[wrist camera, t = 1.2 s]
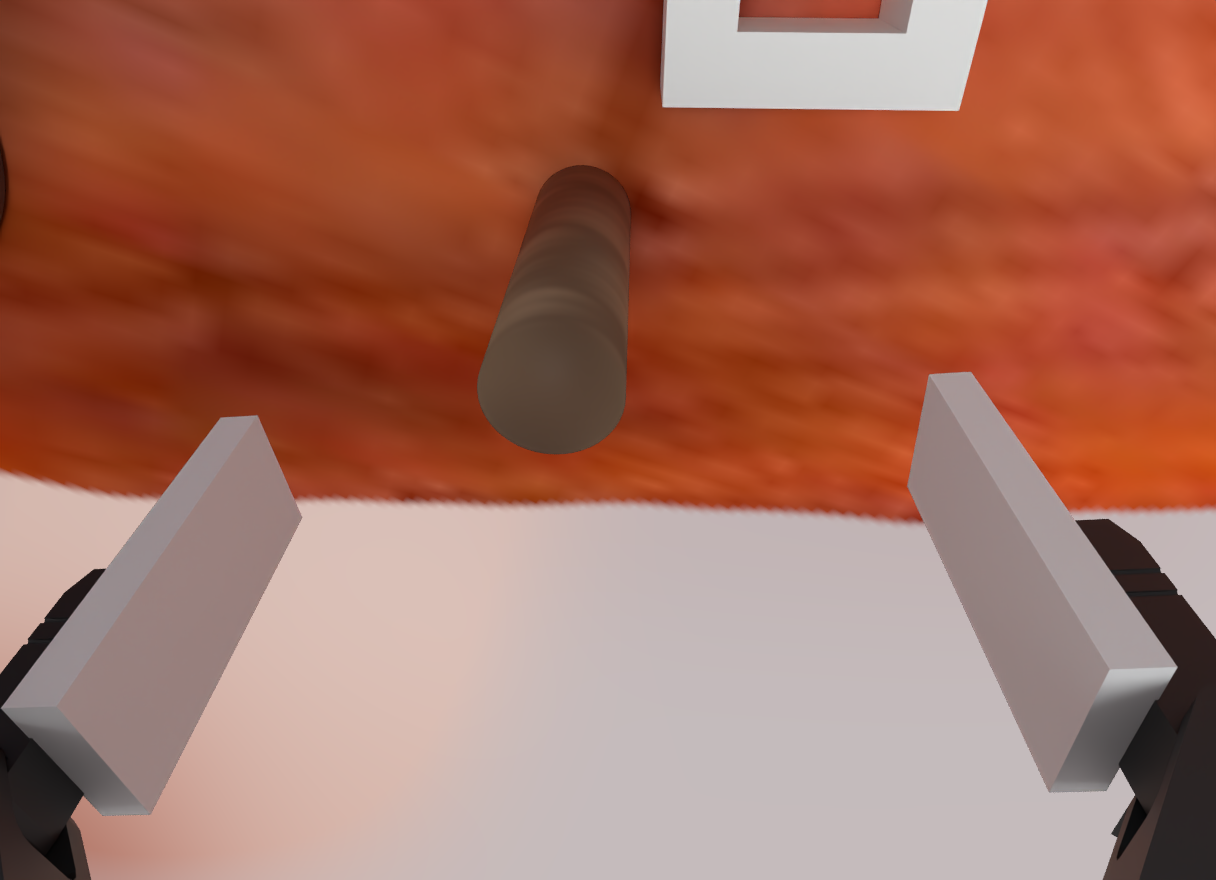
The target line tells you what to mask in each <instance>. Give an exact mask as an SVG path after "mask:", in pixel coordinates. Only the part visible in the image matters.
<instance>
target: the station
mask: <svg viewBox="0 0 1216 880" xmlns="http://www.w3.org/2000/svg"><path fill="white" fill-rule="evenodd" d="M987 1H988V0H882V2H881V7H880V13H879V18H775V17H739V8H740V0H664V6H663V30H662V54H661V79H660V88H661V98H662V107H685V108H768V109H851V110H934V111H959V108H960V105H961V101H962V97H963V93H964V89H965V85H966V82H967V78H968V74H969V70H970V66H971V62H972V59H973V55H974V51H975V47H976V43H977V39H978V36H979V32H980V28H981V24H982V20H983V16H984V13H985V9H986V5H987Z"/></svg>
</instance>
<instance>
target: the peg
mask: <svg viewBox="0 0 1216 880" xmlns="http://www.w3.org/2000/svg"><path fill="white" fill-rule="evenodd" d="M630 229H631V208H630V203H629V199H628V196H627V194H626V192H625V190H624V189H623V187H622V186H621V184H620V183H619V182H618V181H617V180H616V179H615V178H614V177H613V176H611V175H610V174H609V173H607V172H605V171H603V170H601V169H598V168H596V167H591V166H583V165H581V166H572V167H568V168H565V169H562V170H560V171H558V172H557V173H555V174H554V175H552V176H551V177H550V178H549V179H548V180H547V181H546V183H545V184H544V185H543V187H542V188H541V190H540V192H539V195H538V197H537V200H536V203H535V206H534V209H533V212H532V215H531V218H530V221H529V224H528V227H527V230H526V233H525V236H524V239H523V242H522V245H521V248H520V251H519V254H518V257H517V260H516V263H515V266H514V269H513V273H512V276H511V279H510V282H509V285H508V288H507V291H506V294H505V297H504V300H503V303H502V306H501V309H500V312H499V315H498V318H497V321H496V324H495V327H494V330H493V333H492V336H491V339H490V342H489V345H488V348H487V351H486V354H485V357H484V360H483V363H482V366H481V369H480V372H479V376H478V383H477V393H478V399H479V403H480V406H481V408H482V411H483V413H484V415H485V417H486V418H487V420H488V421H489V422H490V424H491V425H492V426H493V427H494V428H495V429H496V431H498V432H499V433H500V434H501V435H502V436H503V437H505V438H506V439H508V440H509V441H511V442H512V443H514V444H516V445H518V446H520V447H523V448H525V449H528V450H531V451H535V452H539V453H545V454H567V453H574V452H578V451H581V450H584V449H587V448H589V447H591V446H593V445H595V444H597V443H599V442H600V441H601V440H603V439H604V438H605V437H607V436H608V435H609V434H610V433H611V432H612V430H613V429H614V428H615V427H616V425H617V424H618V422H619V420H620V418H621V416H622V414H623V411H624V407H625V400H626V373H627V337H628V301H629V265H630Z"/></svg>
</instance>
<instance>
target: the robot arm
mask: <svg viewBox="0 0 1216 880" xmlns="http://www.w3.org/2000/svg"><path fill="white" fill-rule="evenodd" d="M4 202H5V177H4V168H3V162H2V157H1V152H0V222H1V218H2V214H3V208H4ZM907 487H908V489H909V491H910V493H911V495H912V497H913V499H914V502H915V504H916V506H917V508H918V510H919V512H920V515H921V517H922V519H923V521H924V523H925V525H926V528H927V530H928V532H929V534H930V536H931V538H932V540H933V543H934V545H935V547H936V549H937V551H938V553H939V555H940V558H941V560H942V562H943V564H944V566H945V569H946V571H947V573H948V575H949V577H950V579H951V581H952V584H953V586H954V588H955V590H956V592H957V595H958V597H959V599H960V601H961V603H962V605H963V608H964V610H965V612H966V614H967V616H968V618H969V620H970V623H971V625H972V627H973V629H974V631H975V633H976V635H977V638H978V639H979V642H980V644H981V646H982V648H983V651H984V653H985V655H986V657H987V659H988V661H989V663H990V666H991V668H992V670H993V672H994V674H995V677H996V679H997V681H998V683H999V685H1000V687H1001V690H1002V692H1003V694H1004V696H1005V698H1006V700H1007V703H1008V705H1009V707H1010V709H1011V711H1012V713H1013V715H1014V718H1015V720H1016V722H1017V724H1018V726H1019V728H1020V730H1021V733H1022V735H1023V737H1024V739H1025V741H1026V744H1027V746H1028V748H1029V750H1030V752H1031V754H1032V756H1033V759H1034V761H1035V763H1036V765H1037V767H1038V770H1039V772H1040V774H1041V776H1042V778H1043V780H1044V783H1045V784H1046V787H1047V789H1048V791H1049V792H1086V791H1106V790H1107V789H1108V787H1109V785H1110V784H1111V782H1112V780H1113V778H1114V777H1115V775H1116V773H1117V771H1118V770H1119V768H1121V770H1122V772H1123V773H1124V775H1125V777H1126V779H1127V781H1128V782H1129V784H1130V786H1131V788H1132V790H1133V791H1134V793H1135V796H1134V798H1133V800H1132V801H1131V803H1130V804H1129V806H1128V808H1127V809H1126V811H1125V813H1124V814H1123V816H1122V818H1121V819H1120V821H1119V822H1118V824H1117V825H1116V827H1115V828H1114V830H1113V832H1112V835H1114V836H1116V837H1118V838H1117V841H1116V843H1115V846H1114V849H1113V852H1112V855H1111V858H1110V861H1109V864H1108V866H1107V869H1106V872H1105V875H1104V878H1103V880H1216V639H1215V638H1214V636H1213V635H1212V634H1211V632H1210V631H1209V630H1208V629H1207V627H1206V626H1205V625H1204V623H1203V622H1202V621H1201V619H1200V618H1199V617H1198V616H1197V614H1196V613H1195V612H1194V611H1193V609H1192V608H1191V607H1190V605H1189V604H1188V603H1187V601H1186V600H1185V599H1184V598H1183V596H1182V595H1178V594H1177V589H1176V588H1175V586H1174V585H1173V583H1172V582H1171V581H1170V579H1169V578H1168V577H1167V576H1166V575H1165V573H1161V571H1160V567H1159V565H1158V564H1157V563H1156V562H1155V560H1154V559H1153V558H1152V556H1151V555H1150V554H1149V553H1148V551H1147V550H1146V549H1145V547H1144V546H1143V545H1142V543H1141V542H1140V541H1139V540H1137V539H1136V538H1134V537H1133V536H1132V535H1130V534H1129V533H1127V532H1126V531H1125V530H1123V529H1122V528H1120V527H1119V526H1118V525H1116V524H1115V523H1113V522H1112V521H1110V520H1109V519H1097V520H1078V521H1077V520H1076V521H1075V520H1074V518H1073V517H1072V516H1071V514H1070V513H1069V511H1068V510H1067V508H1066V507H1065V506H1064V504H1063V503H1062V501H1061V500H1060V498H1059V497H1058V496H1057V494H1056V493H1055V491H1054V490H1053V488H1052V487H1051V486H1050V484H1049V483H1048V481H1047V480H1046V478H1045V477H1044V476H1043V474H1042V473H1041V471H1040V470H1039V468H1038V467H1037V466H1036V464H1035V463H1034V461H1033V460H1032V458H1031V457H1030V456H1029V454H1028V453H1027V451H1026V450H1025V448H1024V447H1023V446H1022V444H1021V443H1020V441H1019V440H1018V438H1017V437H1016V436H1015V434H1014V433H1013V431H1012V430H1011V428H1010V427H1009V426H1008V424H1007V423H1006V421H1005V420H1004V418H1003V417H1002V416H1001V414H1000V413H999V411H998V410H997V408H996V407H995V406H994V404H993V403H992V401H991V400H990V398H989V397H988V396H987V394H986V393H985V391H984V390H983V388H982V387H981V386H980V384H979V383H978V381H977V380H976V378H975V377H974V376H973V374H972V373H971V372H959V373H943V374H929V377H928V383H927V388H926V393H925V398H924V403H923V408H922V414H921V419H920V424H919V429H918V434H917V439H916V445H915V450H914V455H913V460H912V465H911V470H910V476H909V481H908V486H907ZM301 519H302V516H301V514H300V511H299V509H298V507H297V504H296V502H295V500H294V498H293V495H292V493H291V491H290V489H289V486H288V484H287V482H286V479H285V477H284V475H283V473H282V470H281V468H280V466H279V463H278V461H277V459H276V457H275V454H274V452H273V450H272V447H271V445H270V443H269V441H268V438H267V436H266V434H265V431H264V429H263V427H262V425H261V422H260V420H259V418H258V415H257V416H241V417H224V418H220V419H219V421H218V422H217V423H216V425H215V426H214V427H213V429H212V430H211V431H210V433H209V434H208V435H207V437H206V438H205V439H204V440H203V442H202V443H201V444H200V446H199V447H198V448H197V450H196V451H195V452H194V454H193V455H192V456H191V458H190V459H189V460H188V462H187V463H186V464H185V466H184V467H183V468H182V470H181V471H180V472H179V474H178V475H177V476H176V477H175V479H174V480H173V481H172V483H171V484H170V485H169V487H168V488H167V489H166V491H165V492H164V493H163V495H162V496H161V497H160V499H159V500H158V501H157V503H156V504H155V505H154V507H153V508H152V509H151V511H150V512H149V513H148V514H147V516H146V517H145V518H144V520H143V521H142V522H141V524H140V525H139V526H138V528H137V529H136V530H135V532H134V533H133V534H132V536H131V537H130V538H129V540H128V541H127V542H126V544H125V545H124V546H123V548H122V549H121V550H120V551H119V553H118V554H117V556H116V557H115V558H114V560H113V561H112V562H111V564H110V565H109V566H108V567H107V569H94V570H92V571H91V572H90V573H89V574H87V575H86V576H85V577H84V578H82V579H81V580H80V581H79V582H77V583H76V584H75V585H73V586H72V587H71V588H70V589H68V590H67V591H66V592H65V593H64V594H63V595H62V597H61V598H60V599H59V600H58V602H57V603H56V604H55V605H54V607H53V608H52V609H51V610H50V612H49V613H48V614H47V616H46V617H45V622H44V623H40V624H39V626H38V627H37V628H36V629H35V631H34V632H33V633H32V634H31V636H30V637H29V638H28V644H26V645H23V646H22V647H21V648H20V650H19V651H18V652H17V654H16V655H15V656H14V657H13V659H12V660H11V661H10V662H9V664H8V665H7V666H6V667H5V669H4V670H3V671H2V673H1V674H0V880H91V877H90V873H89V868H88V863H87V859H86V854H85V850H84V846H83V841H82V837H81V832H80V830H79V828H78V827H77V825H76V823H75V822H74V820H73V819H72V818H71V815H72V813H73V811H74V810H75V808H76V806H77V805H78V803H79V801H80V800H81V798H82V796H84V797H85V798H86V799H87V800H88V801H89V802H90V803H91V804H92V805H93V806H94V807H95V808H96V809H97V811H98V812H99V813H100V814H101V815H102V816H111V815H112V816H114V815H115V816H116V815H150V814H151V813H152V811H153V809H154V807H155V805H156V803H157V801H158V799H159V797H160V795H161V793H162V791H163V789H164V788H165V785H166V784H167V782H168V780H169V778H170V776H171V774H172V772H173V770H174V768H175V766H176V764H177V762H178V760H179V758H180V756H181V754H182V752H183V750H184V748H185V746H186V744H187V742H188V740H189V738H190V737H191V734H192V733H193V731H194V728H195V727H196V725H197V723H198V721H199V719H200V717H201V715H202V713H203V711H204V709H205V707H206V705H207V703H208V701H209V699H210V697H211V695H212V693H213V691H214V689H215V688H216V686H217V684H218V682H219V680H220V678H221V676H222V674H223V672H224V670H225V668H226V666H227V664H228V662H229V660H230V658H231V656H232V654H233V652H234V650H235V648H236V646H237V644H238V642H239V640H240V639H241V637H242V635H243V633H244V631H245V629H246V627H247V625H248V623H249V621H250V619H251V617H252V615H253V613H254V611H255V609H256V607H257V605H258V603H259V601H260V599H261V597H262V595H263V593H264V591H265V589H266V588H267V586H268V583H269V582H270V580H271V578H272V575H273V574H274V572H275V570H276V568H277V566H278V564H279V562H280V560H281V558H282V556H283V554H284V552H285V550H286V548H287V546H288V544H289V542H290V541H291V539H292V537H293V535H294V533H295V531H296V529H297V526H298V525H299V523H300V521H301Z"/></svg>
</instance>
